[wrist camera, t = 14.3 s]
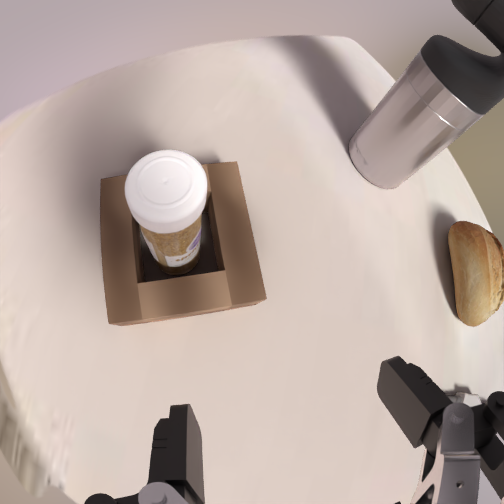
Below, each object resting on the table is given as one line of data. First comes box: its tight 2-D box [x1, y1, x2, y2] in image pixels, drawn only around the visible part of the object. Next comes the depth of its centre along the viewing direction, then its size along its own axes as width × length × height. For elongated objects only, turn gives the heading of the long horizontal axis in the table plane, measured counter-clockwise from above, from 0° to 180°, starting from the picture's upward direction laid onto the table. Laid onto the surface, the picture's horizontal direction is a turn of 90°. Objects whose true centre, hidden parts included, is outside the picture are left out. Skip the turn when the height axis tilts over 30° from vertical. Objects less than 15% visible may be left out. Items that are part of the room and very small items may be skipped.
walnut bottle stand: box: [100, 162, 267, 326], centre depth 25 cm, size 13×13×4 cm
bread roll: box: [448, 221, 504, 326], centre depth 30 cm, size 10×15×8 cm, turn 6°
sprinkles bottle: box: [125, 149, 207, 275], centre depth 21 cm, size 5×5×13 cm
